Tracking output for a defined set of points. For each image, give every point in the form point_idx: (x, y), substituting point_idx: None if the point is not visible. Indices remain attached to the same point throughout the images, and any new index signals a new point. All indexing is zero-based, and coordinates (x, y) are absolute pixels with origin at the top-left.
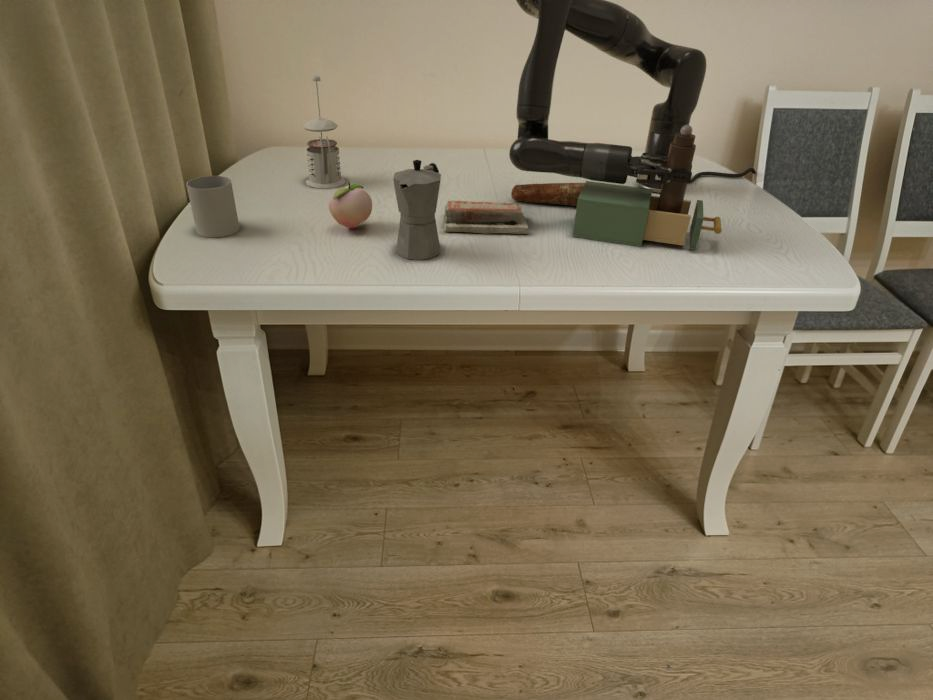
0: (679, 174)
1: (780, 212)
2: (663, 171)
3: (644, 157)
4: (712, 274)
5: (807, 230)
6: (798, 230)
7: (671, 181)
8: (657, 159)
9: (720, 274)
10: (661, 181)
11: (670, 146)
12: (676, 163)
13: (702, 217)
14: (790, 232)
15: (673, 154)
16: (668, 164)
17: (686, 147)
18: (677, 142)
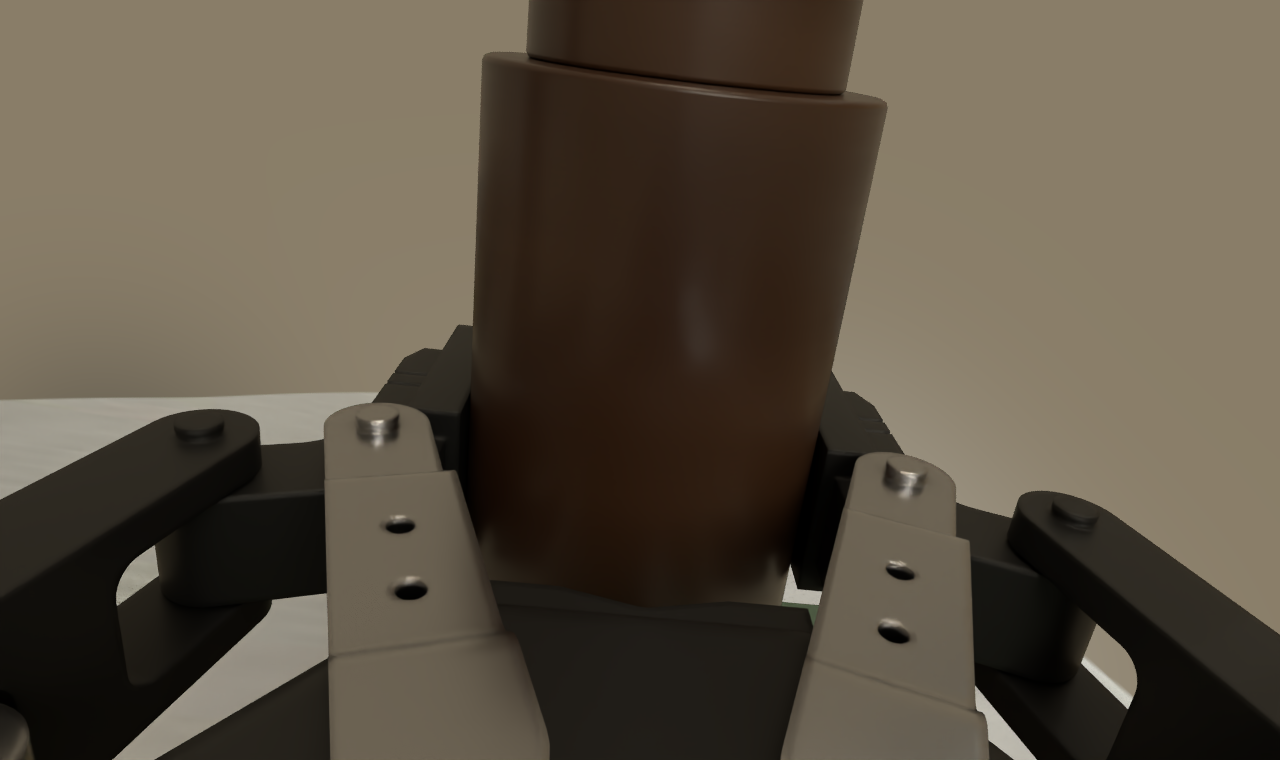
0: (895, 449)
1: (46, 414)
2: (1126, 540)
3: (547, 746)
4: (1029, 753)
5: (292, 396)
6: (293, 413)
7: (781, 599)
8: (463, 538)
9: (994, 717)
10: (1078, 677)
11: (744, 152)
12: (833, 359)
13: (812, 608)
14: (318, 433)
15: (841, 257)
16: (763, 447)
17: (850, 92)
18: (833, 38)
